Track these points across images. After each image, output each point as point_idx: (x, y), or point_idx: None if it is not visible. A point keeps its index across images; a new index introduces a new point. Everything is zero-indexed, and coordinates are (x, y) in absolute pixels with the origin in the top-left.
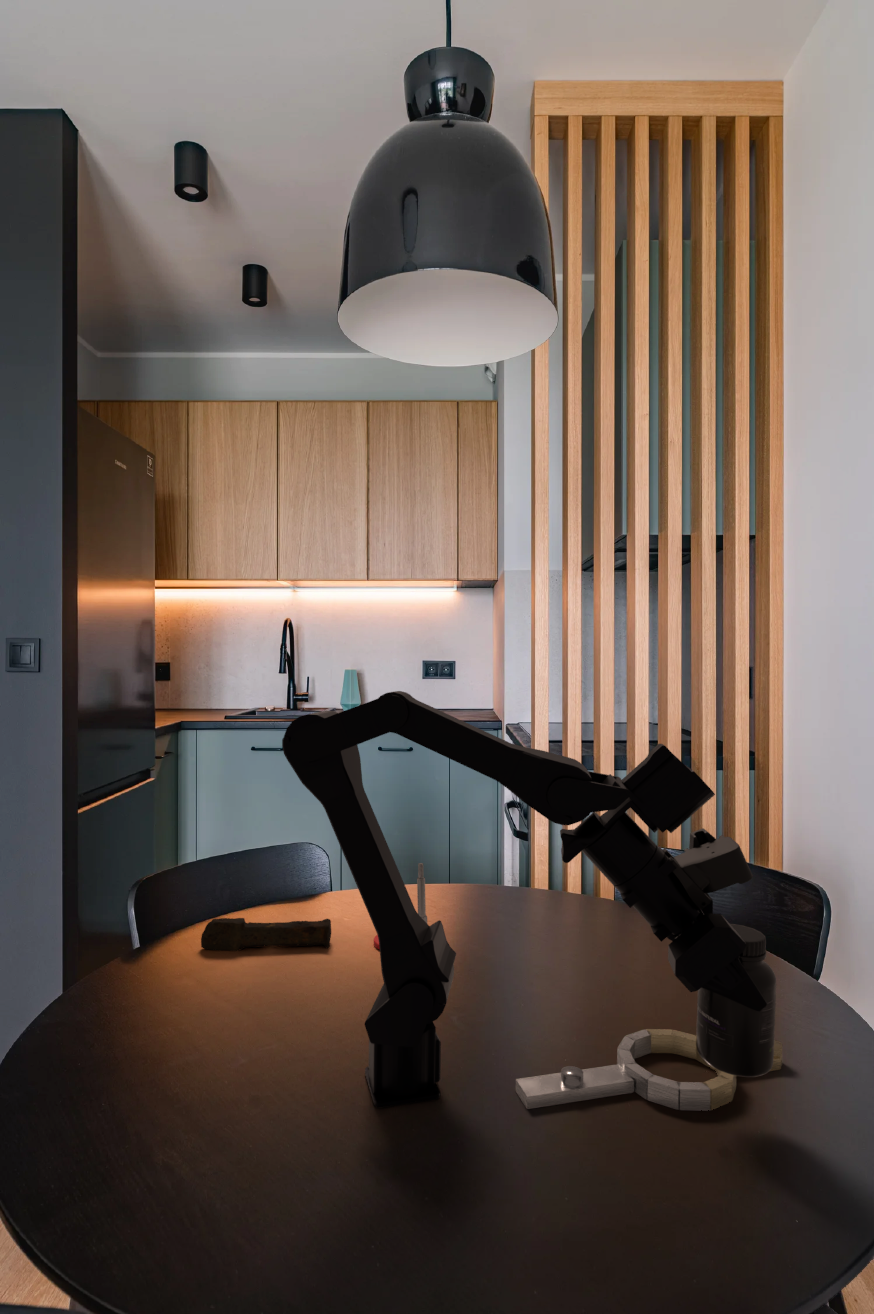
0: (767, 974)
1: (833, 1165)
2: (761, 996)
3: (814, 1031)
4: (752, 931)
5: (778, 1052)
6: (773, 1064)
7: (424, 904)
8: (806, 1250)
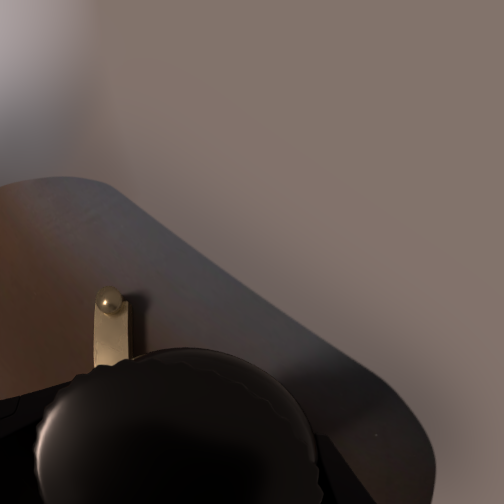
0: (292, 412)
1: (308, 361)
2: (339, 454)
3: (86, 221)
4: (144, 408)
5: (121, 299)
6: (129, 314)
7: None
8: (403, 438)
